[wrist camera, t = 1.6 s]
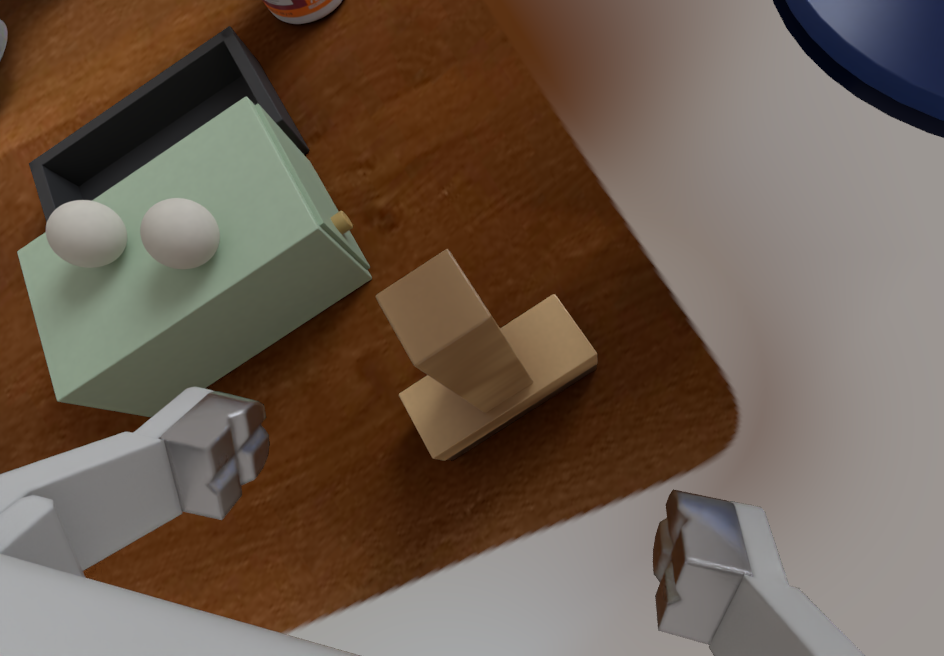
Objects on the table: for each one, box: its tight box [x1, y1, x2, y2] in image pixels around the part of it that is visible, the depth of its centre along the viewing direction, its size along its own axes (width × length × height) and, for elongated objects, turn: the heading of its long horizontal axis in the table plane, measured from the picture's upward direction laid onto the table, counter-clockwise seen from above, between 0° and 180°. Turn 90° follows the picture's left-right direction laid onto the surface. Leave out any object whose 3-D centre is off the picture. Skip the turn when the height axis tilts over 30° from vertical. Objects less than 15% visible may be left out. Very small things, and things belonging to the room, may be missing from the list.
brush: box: [376, 249, 598, 461], centre depth 20 cm, size 8×3×12 cm, turn 121°
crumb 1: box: [46, 200, 127, 268], centre depth 25 cm, size 3×3×3 cm
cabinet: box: [17, 97, 372, 417], centre depth 28 cm, size 15×9×6 cm, turn 121°
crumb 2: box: [140, 198, 220, 269], centre depth 23 cm, size 3×3×3 cm
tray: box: [29, 26, 309, 222], centre depth 33 cm, size 15×9×3 cm, turn 121°
